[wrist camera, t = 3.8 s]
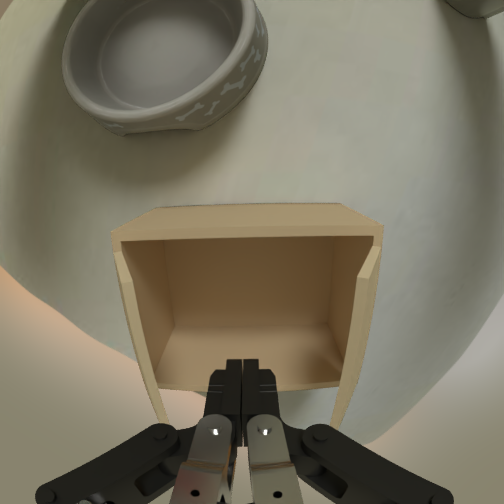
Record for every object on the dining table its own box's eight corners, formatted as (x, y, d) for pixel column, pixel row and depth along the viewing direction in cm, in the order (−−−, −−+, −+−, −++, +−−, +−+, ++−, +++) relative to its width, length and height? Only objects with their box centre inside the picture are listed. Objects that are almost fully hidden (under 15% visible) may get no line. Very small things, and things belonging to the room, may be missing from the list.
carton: (340, 203, 24) (383, 225, 16) (330, 325, 28) (356, 384, 19) (156, 207, 24) (110, 231, 16) (171, 328, 28) (145, 387, 19)
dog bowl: (92, 2, 18) (69, -17, 12) (267, -24, 18) (270, -54, 13) (75, 146, 23) (42, 146, 18) (268, 131, 23) (272, 122, 18)
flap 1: (121, 251, 15) (132, 281, 11) (151, 385, 18) (173, 434, 14) (113, 252, 15) (121, 283, 11) (145, 386, 18) (165, 436, 14)
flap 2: (381, 247, 15) (368, 278, 11) (356, 383, 18) (335, 434, 14) (372, 245, 15) (356, 276, 11) (350, 382, 18) (327, 432, 14)
